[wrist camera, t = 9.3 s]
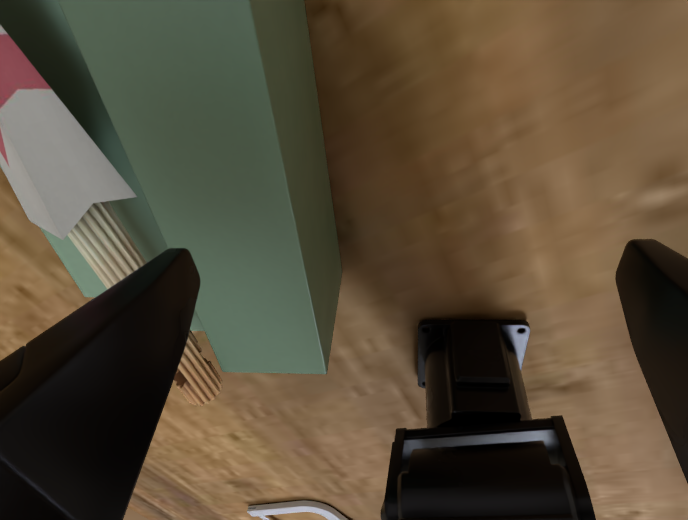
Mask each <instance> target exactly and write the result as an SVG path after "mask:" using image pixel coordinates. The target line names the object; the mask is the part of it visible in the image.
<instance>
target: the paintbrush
mask: <svg viewBox="0 0 688 520" xmlns="http://www.w3.org/2000/svg"><path fill="white" fill-rule="evenodd" d="M0 165H1V167H2V169H3V171H4V173H5V175H6V177H7V179H8V181H9V183H10V184H11V186H12V188H13V190H14V192H15V194H16V196H17V198H18V200H19V202H20V203H21V205H22V207H23V209H24V211H25V213H26V215H27V217H28V219H29V221H31V222H32V223H34V224H36V225H37V226H39V227H41V228H43V229H44V230H46V231H48V232H50V233H51V234H53V235H55V236H57V237H58V238H60V239H62V240H64V238H65V237H66V236H67V235H68V236H69V238H70V239H71V241H72V242H73V243H74V245H75V246H76V247H77V249H78V250H79V251H80V253H81V254H82V255H83V257H84V258H85V259H86V261H87V262H88V263H89V265H90V266H91V267H92V269H93V270H94V271H95V273H96V274H97V276H98V277H99V278H100V280H101V281H102V282H103V284H104V285H105V286H106V288H107V289H109V288H110V287H112V286H113V285H115V284H116V283H118V282H119V281H121V280H122V279H124V278H125V277H126V276H128V275H129V274H131V273H132V272H134V271H135V270H137V269H138V268H140V267H141V266H143V265H144V264H146V263H147V262H146V260H145V259H144V257H143V256H142V254H141V253H140V251H139V250H138V248H137V247H136V245H135V243H134V242H133V240H132V239H131V237H130V235H129V234H128V232H127V231H126V229H125V227H124V226H123V224H122V222H121V221H120V219H119V218H118V216H117V214H116V213H115V211H114V209H113V208H112V206H111V205H110V203H109V201H113V200H120V199H127V198H134V197H137V196H136V194H135V193H134V192H133V191H132V189H131V188H130V187H129V186H128V184H127V183H126V182H125V181H124V179H123V178H122V177H121V176H120V174H119V173H118V172H117V171H116V169H115V168H114V167H113V165H112V164H111V163H110V162H109V160H108V159H107V158H106V157H105V155H104V154H103V153H102V152H101V150H100V149H99V148H98V147H97V145H96V144H95V143H94V142H93V140H92V139H91V138H90V137H89V135H88V134H87V133H86V132H85V130H84V129H83V128H82V127H81V125H80V124H79V123H78V122H77V120H76V119H75V118H74V116H73V115H72V114H71V113H70V111H69V110H68V109H67V108H66V106H65V105H64V104H63V103H62V101H61V100H60V99H59V98H58V96H57V95H56V94H55V93H54V91H53V90H52V89H51V88H50V86H49V85H48V84H47V83H46V81H45V80H44V79H43V78H42V76H41V75H40V74H39V73H38V71H37V70H36V69H35V67H34V66H33V65H32V64H31V62H30V61H29V60H28V59H27V57H26V56H25V55H24V54H23V52H22V51H21V50H20V49H19V47H18V46H17V45H16V44H15V42H14V41H13V40H12V39H11V37H10V36H9V35H8V34H7V32H6V31H5V30H4V29H3V27H2V26H1V25H0ZM197 343H198V341H197V340H196V338H195V337H194V335H193V334H192V332H191V330H190V331H189V336H188V339H187V343H186V346H185V349H184V352H183V355H182V358H181V361H180V363H179V366H178V369H177V372H176V374H175V377H174V380H175V382H176V383H177V384H176V385H177V387H178V388H179V390H180V391H181V393H182V394H183V395H184V397H185V398H186V399H187V401H188V402H189V403H190V404H193V405H195V406H196V405H200V406H202V405H203V404H204V403H205V404H208V403H209V402H210V400H214V399H215V396H216V395H218V394H219V393H220V390H221V389H222V380H221V378H220V376H219V375H218V373H217V371H216V370H215V368H214V367H213V365H212V364H211V362H210V361H207V360H206V359H205V358H203V357H202V355H201V354H200V352H201V348H200V347H199V345H198V344H197Z"/></svg>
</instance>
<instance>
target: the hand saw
mask: <svg viewBox="0 0 688 520" xmlns="http://www.w3.org/2000/svg"><path fill="white" fill-rule="evenodd" d="M247 512H248V513H249V514H250V515H251V516H253V517H255V516H259V517H260V518H262V519H263V520H270V519H268V518H267V517H265V515H275V514H286V513H296V512H314V513H318V514H320V515H322V516H324V517H326V518H327V519H328V520H348V519H347V518H345V517H344V516H343V515H341V514H340V513H339V512H338V511H336V510H335V509H334V508H332V507H330V506H328V505H326V504H323V503H320V502H315V501H305V500H302V501H293V502H283V503H273V504H264V505H254V506H248V510H247Z"/></svg>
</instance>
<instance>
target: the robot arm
mask: <svg viewBox="0 0 688 520" xmlns="http://www.w3.org/2000/svg"><path fill="white" fill-rule="evenodd" d="M200 283H201V281H200V275H199V272H198V270H197V267H196V265H195V262H194V260H193V258H192V255H191V253H190V251H189V250H188V249H186V248H169V249H167V250H165V251H164V252H162V253H161V254H159V255H158V256H156V257H155V258H153V259H152V260H150V261H149V262H147V263H146V264H144V265H143V266H141V267H140V268H138V269H137V270H135V271H134V272H132V273H131V274H129V275H128V276H126V277H125V278H124V279H122V280H121V281H119V282H118V283H116V284H115V285H113V286H112V287H110V288H109V289H107V290H106V291H104V292H103V293H101V294H100V295H98V296H97V297H95V298H94V299H92V300H91V301H89V302H88V303H86V304H85V305H83V306H82V307H80V308H79V309H77V310H76V311H74V312H73V313H71V314H70V315H68V316H67V317H65V318H64V319H62V320H61V321H59V322H58V323H57V324H55V325H54V326H52V327H51V328H49V329H48V330H46V331H45V332H43V333H42V334H40V335H39V336H37V337H36V338H34V339H33V340H31V341H30V342H28V343H27V344H26V347H25V346H22V347H21V348H19V349H18V350H16V351H15V352H13V353H12V354H10V355H9V356H7V357H6V358H4V359H3V360H1V361H0V520H123V518H124V515H125V512H126V509H127V507H128V504H129V501H130V499H131V496H132V493H133V490H134V488H135V485H136V482H137V479H138V477H139V474H140V471H141V468H142V465H143V463H144V460H145V457H146V454H147V452H148V449H149V446H150V443H151V441H152V438H153V435H154V432H155V430H156V427H157V424H158V421H159V419H160V416H161V413H162V410H163V408H164V405H165V402H166V399H167V396H168V394H169V391H170V388H171V385H172V383H173V380H174V377H175V374H176V372H177V369H178V366H179V363H180V361H181V358H182V355H183V352H184V349H185V346H186V343H187V339H188V336H189V331H190V327H191V323H192V319H193V315H194V310H195V306H196V302H197V298H198V293H199V289H200ZM616 285H617V289H618V292H619V296H620V300H621V304H622V308H623V312H624V315H625V319H626V323H627V327H628V331H629V334H630V338H631V342H632V345H633V348H634V351H635V354H636V357H637V359H638V362H639V364H640V367H641V369H642V372H643V374H644V377H645V379H646V382H647V384H648V387H649V389H650V392H651V394H652V397H653V399H654V401H655V404H656V406H657V409H658V411H659V414H660V416H661V419H662V421H663V424H664V426H665V429H666V431H667V434H668V436H669V438H670V441H671V443H672V446H673V448H674V451H675V453H676V456H677V458H678V461H679V463H680V466H681V468H682V471H683V473H684V476H685V478H686V480H687V483H688V259H687V258H686V257H684V256H682V255H681V254H679V253H677V252H675V251H674V250H672V249H670V248H668V247H667V246H665V245H663V244H662V243H660V242H658V241H656V240H654V239H633V240H630V241H629V242H628V243H627V244H626V246H625V249H624V252H623V254H622V257H621V260H620V262H619V265H618V268H617V271H616ZM426 327H427V328H426ZM519 328H521V329H519ZM529 334H530V327H529V324H528V322H526V321H524V320H422V321H420V322H419V323H418V385H419V386H420V387H422V388H426V411H427V428H421V429H408V430H407V429H406V428H400V429H396V435H395V442H393V443H392V450H391V458H390V465H389V472H388V479H387V486H386V493H385V499H384V502H383V506H382V509H381V520H596V518H595V514H594V510H593V506H592V502H591V499H590V495H589V492H588V488H587V485H586V482H585V479H584V476H583V473H582V471H581V468H580V465H579V462H578V459H577V456H576V454H575V451H574V448H573V445H572V442H571V439H570V437H569V434H568V431H567V428H566V425H565V422H564V420H563V417H562V415H561V416H551V418H546V419H533V420H532V417H531V413H530V409H529V405H528V400H527V396H526V392H525V387H524V383H523V379H522V374H521V368H522V364H523V359H524V355H525V351H526V347H527V342H528V338H529Z"/></svg>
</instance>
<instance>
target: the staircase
mask: <svg viewBox="0 0 688 520" xmlns="http://www.w3.org/2000/svg"><path fill="white" fill-rule="evenodd" d="M0 25H1V26H2V27H3V29H4V30H5V31H6V32H7V34H8V35H9V36H10V37H11V39H12V40H13V41H14V42H15V44H16V45H17V46H18V47H19V49H20V50H21V51H22V52H23V54H24V55H25V56H26V57H27V59H28V60H29V61H30V62H31V64H32V65H33V66H34V67H35V69H36V70H37V71H38V73H39V74H40V75H41V76H42V78H43V79H44V80H45V81H46V83H47V84H48V85H49V86H50V88H51V89H52V90H53V91H54V93H55V94H56V95H57V96H58V98H59V99H60V100H61V101H62V103H63V104H64V105H65V106H66V108H67V109H68V110H69V111H70V113H71V114H72V115H73V116H74V118H75V119H76V120H77V122H78V123H79V124H80V125H81V127H82V128H83V129H84V130H85V132H86V133H87V134H88V135H89V137H90V138H91V139H92V140H93V142H94V143H95V144H96V145H97V147H98V148H99V149H100V150H101V152H102V153H103V154H104V155H105V157H106V158H107V159H108V160H109V162H110V163H111V164H112V165H113V167H114V168H115V169H116V171H117V172H118V173H119V174H120V176H121V177H122V178H123V179H124V181H125V182H126V183H127V184H128V186H129V187H130V188H131V189H132V191H133V192H134V193H135V194H136V196H137V197H134V198H127V199H120V200H113V201H109V203H110V205H111V206H112V208H113V209H114V211H115V213H116V214H117V216H118V218H119V219H120V221H121V222H122V224H123V226H124V227H125V229H126V231H127V232H128V234H129V235H130V237H131V239H132V240H133V242H134V243H135V245H136V247H137V248H138V250H139V251H140V253H141V254H142V256H143V257H144V259H145V260H146V262H149V261H150V260H152V259H153V258H155V257H156V256H158V255H159V254H161V253H162V252H164V251H165V250H167V249H169V248H186V249H188V250H189V251H190V253H191V255H192V258H193V260H194V262H195V265H196V267H197V270H198V272H199V275H200V281H201V283H200V289H199V293H198V298H197V302H196V306H195V310H194V315H193V319H192V323H191V327H190V330H191V331H205V333H206V335H207V337H208V340H209V342H210V344H211V346H212V349H213V351H214V353H215V355H216V358H217V360H218V362H219V364H220V367H221V369H222V371H223V372H253V373H301V374H327V370H328V363H329V356H330V350H331V343H332V337H333V330H334V323H335V317H336V310H337V304H338V297H339V290H340V284H341V277H342V267H341V260H340V252H339V245H338V238H337V231H336V224H335V217H334V209H333V202H332V195H331V188H330V181H329V174H328V166H327V159H326V152H325V145H324V138H323V131H322V123H321V116H320V109H319V102H318V95H317V88H316V80H315V73H314V66H313V59H312V52H311V45H310V37H309V30H308V23H307V16H306V9H305V2H304V0H0ZM0 167H1V165H0ZM1 168H2V167H1ZM2 170H3V169H2ZM40 228H41V227H40ZM41 230H42V232H43V233H44V235H45V236H46V238H47V239H48V241H49V242H50V244H51V245H52V247H53V248H54V250H55V252H56V253H57V255H58V256H59V258H60V259H61V261H62V262H63V264H64V265H65V267H66V269H67V270H68V272H69V273H70V275H71V276H72V278H73V279H74V281H75V282H76V284H77V285H78V287H79V289H80V290H81V292H82V293H83V295H84V296H85V297H97V296H98V295H100V294H101V293H103V292H104V291H106V290H107V288H106V286H105V285H104V284H103V282H102V281H101V280H100V278H99V277H98V276H97V274H96V273H95V271H94V270H93V269H92V267H91V266H90V265H89V263H88V262H87V261H86V259H85V258H84V257H83V255H82V254H81V253H80V251H79V250H78V249H77V247H76V246H75V245H74V243H73V242H72V241H71V239H70V238H69V236H68V235H67V236H66V237H65V238H64V240H62V239H60V238H58V237H57V236H55V235H53V234H51V233H50V232H48V231H46V230H44V229H43V228H41Z"/></svg>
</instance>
